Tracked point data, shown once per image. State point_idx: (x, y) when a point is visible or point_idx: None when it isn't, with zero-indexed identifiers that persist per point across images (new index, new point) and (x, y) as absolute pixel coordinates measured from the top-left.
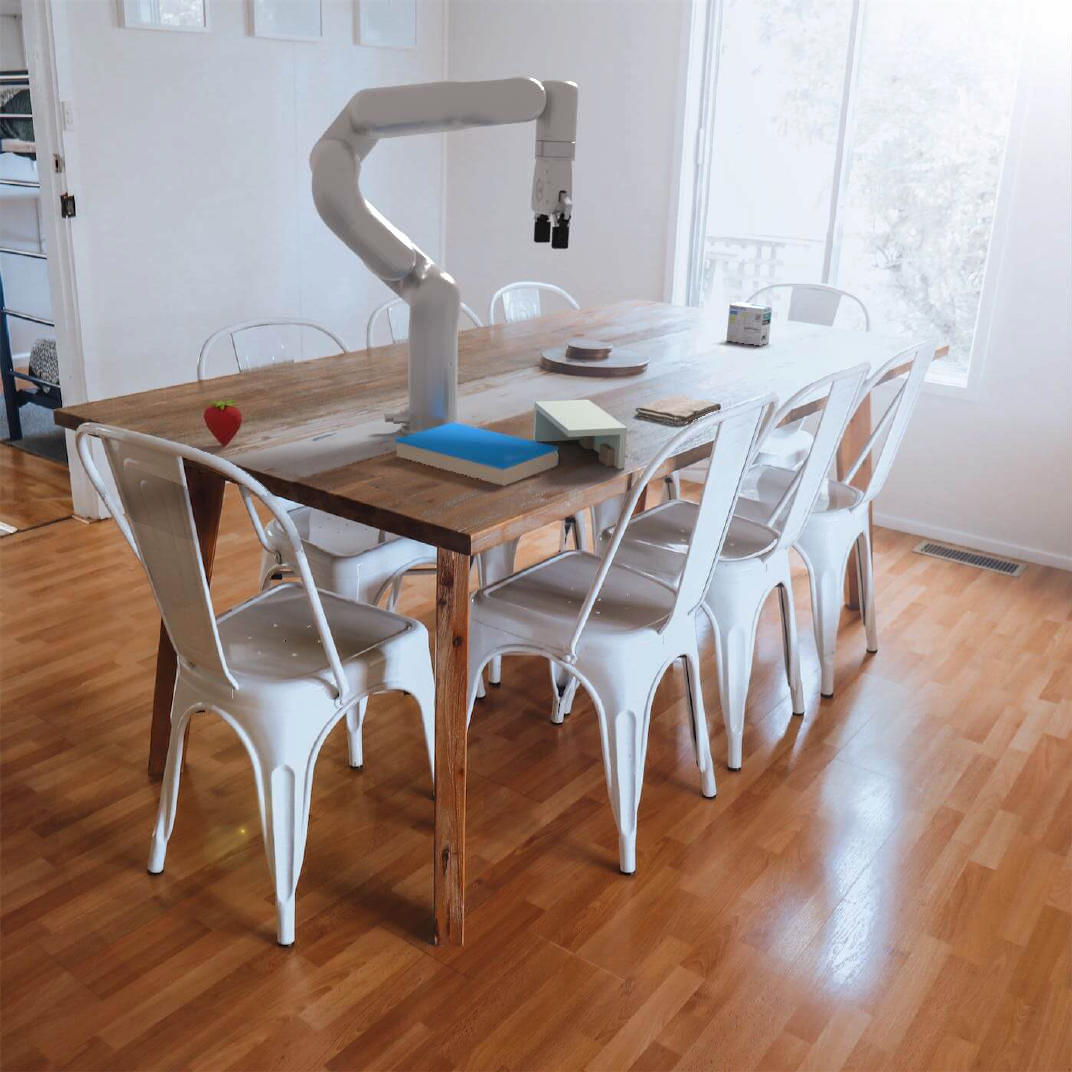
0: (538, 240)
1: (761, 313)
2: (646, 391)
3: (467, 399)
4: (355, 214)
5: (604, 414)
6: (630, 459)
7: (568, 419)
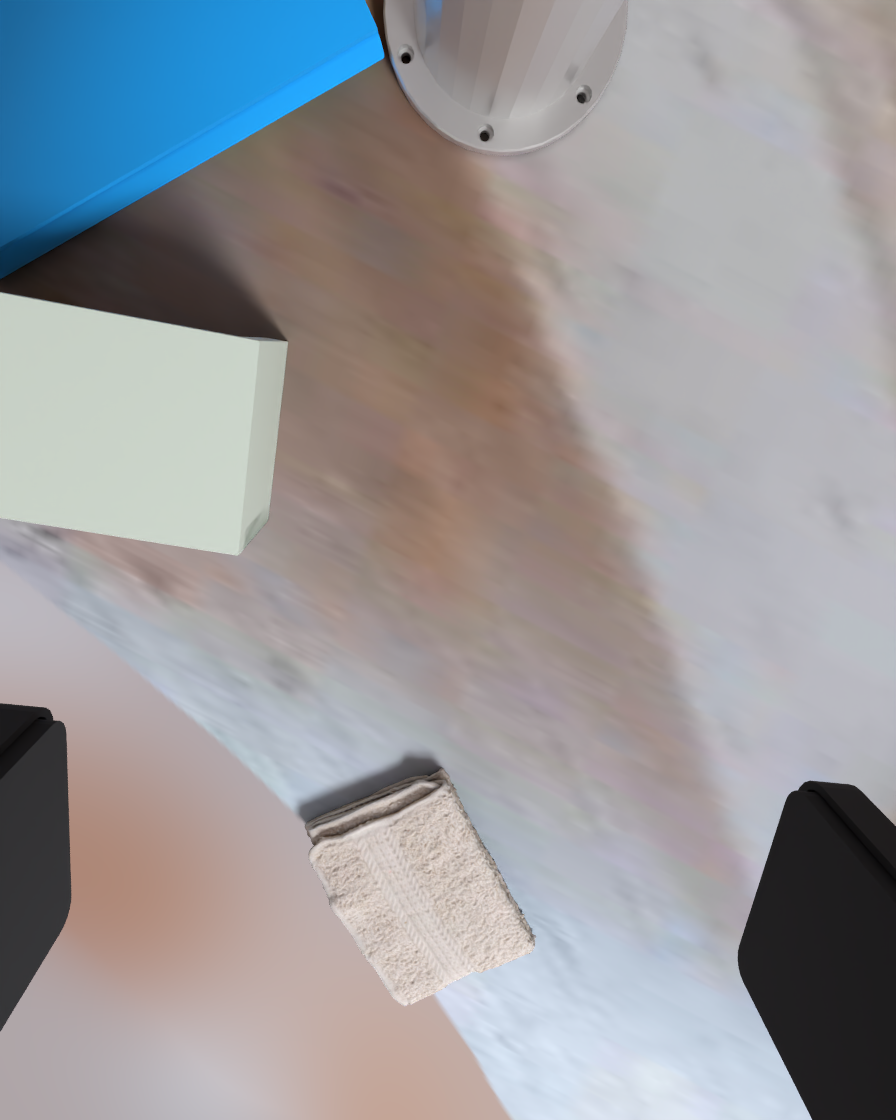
0: (793, 836)
1: None
2: (679, 926)
3: (850, 362)
4: None
5: (14, 504)
6: (14, 530)
7: None
